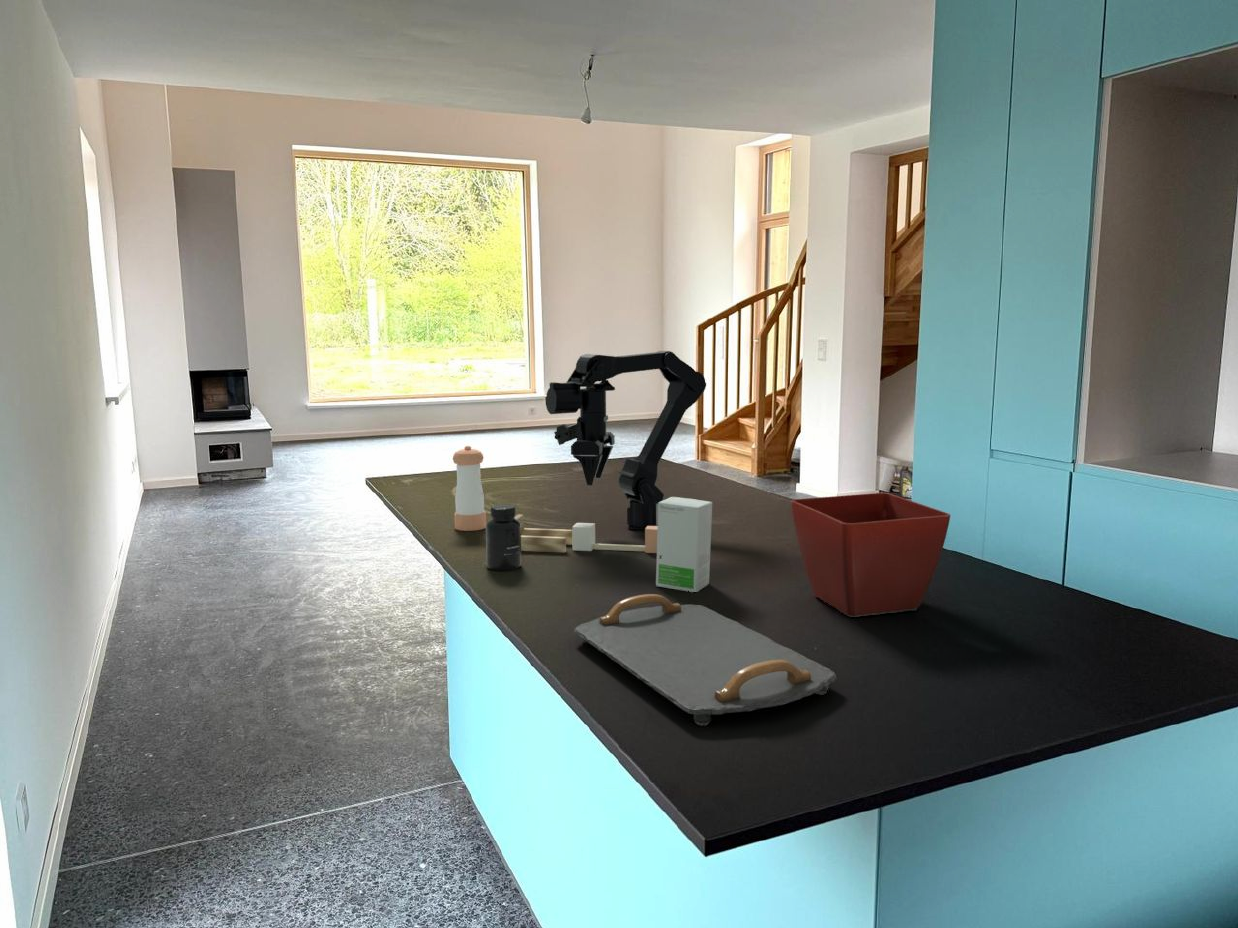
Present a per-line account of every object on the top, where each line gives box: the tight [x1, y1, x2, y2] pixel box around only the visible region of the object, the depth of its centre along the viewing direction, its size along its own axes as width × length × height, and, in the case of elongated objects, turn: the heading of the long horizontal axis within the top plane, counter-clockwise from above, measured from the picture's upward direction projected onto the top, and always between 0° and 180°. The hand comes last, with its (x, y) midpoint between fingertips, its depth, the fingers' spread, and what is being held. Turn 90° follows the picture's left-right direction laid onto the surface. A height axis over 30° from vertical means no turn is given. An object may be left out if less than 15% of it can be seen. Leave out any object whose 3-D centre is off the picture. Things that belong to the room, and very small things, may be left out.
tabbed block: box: [571, 522, 658, 554], centre depth 185 cm, size 18×4×5 cm, turn 79°
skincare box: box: [655, 496, 713, 593], centre depth 158 cm, size 8×7×16 cm
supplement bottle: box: [485, 504, 522, 572], centre depth 172 cm, size 7×7×12 cm
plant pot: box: [790, 492, 951, 616], centre depth 147 cm, size 19×19×17 cm
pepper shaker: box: [452, 445, 487, 532], centre depth 205 cm, size 7×7×19 cm
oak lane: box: [515, 513, 572, 553], centre depth 187 cm, size 12×8×6 cm, turn 80°
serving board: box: [573, 593, 837, 723], centre depth 122 cm, size 39×23×6 cm, turn 28°
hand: (594, 481), depth 197 cm, fingers open, 9 cm apart
